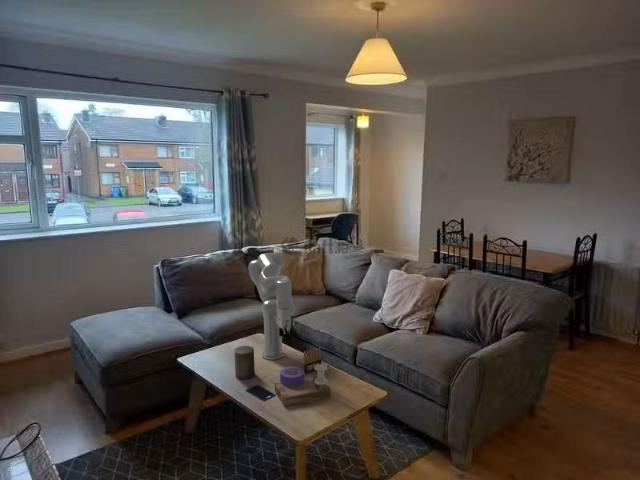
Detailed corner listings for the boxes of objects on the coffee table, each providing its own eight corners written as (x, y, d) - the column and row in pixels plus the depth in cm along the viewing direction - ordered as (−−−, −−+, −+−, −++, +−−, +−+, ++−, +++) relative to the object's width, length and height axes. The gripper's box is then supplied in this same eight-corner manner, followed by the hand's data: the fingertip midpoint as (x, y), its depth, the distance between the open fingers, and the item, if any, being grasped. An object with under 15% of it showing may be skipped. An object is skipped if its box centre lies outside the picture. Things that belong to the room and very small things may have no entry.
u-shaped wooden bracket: (274, 391, 216) (274, 383, 215) (318, 383, 224) (318, 375, 223) (284, 406, 203) (284, 398, 202) (330, 397, 211) (330, 389, 210)
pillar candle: (258, 375, 232) (257, 346, 229) (242, 381, 225) (241, 352, 222) (247, 369, 239) (246, 341, 236) (231, 375, 232) (230, 346, 229)
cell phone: (263, 402, 207) (263, 400, 207) (244, 391, 217) (244, 389, 217) (276, 396, 213) (276, 394, 212) (257, 385, 222) (257, 384, 222)
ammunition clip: (304, 374, 233) (304, 351, 231) (302, 372, 235) (302, 350, 233) (321, 368, 239) (321, 346, 237) (319, 367, 241) (319, 345, 239)
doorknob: (312, 380, 218) (312, 365, 217) (324, 378, 221) (324, 363, 219) (317, 386, 213) (317, 370, 212) (329, 383, 215) (329, 368, 214)
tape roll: (304, 375, 232) (304, 366, 231) (304, 387, 221) (304, 377, 220) (280, 375, 232) (280, 366, 231) (279, 387, 220) (279, 377, 219)
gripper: (271, 300, 237) (272, 333, 240) (282, 310, 221) (282, 346, 224) (285, 298, 239) (286, 331, 243) (297, 308, 224) (297, 343, 227)
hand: (284, 338), depth 233 cm, fingers open, 6 cm apart
